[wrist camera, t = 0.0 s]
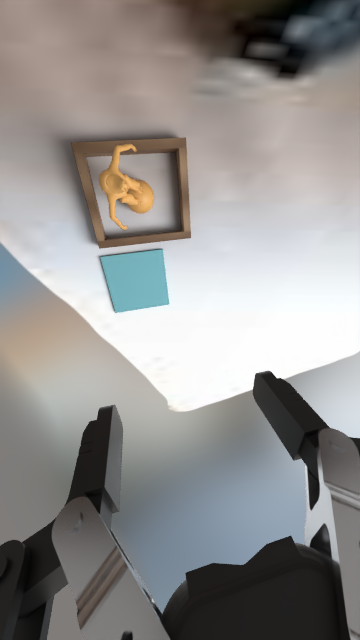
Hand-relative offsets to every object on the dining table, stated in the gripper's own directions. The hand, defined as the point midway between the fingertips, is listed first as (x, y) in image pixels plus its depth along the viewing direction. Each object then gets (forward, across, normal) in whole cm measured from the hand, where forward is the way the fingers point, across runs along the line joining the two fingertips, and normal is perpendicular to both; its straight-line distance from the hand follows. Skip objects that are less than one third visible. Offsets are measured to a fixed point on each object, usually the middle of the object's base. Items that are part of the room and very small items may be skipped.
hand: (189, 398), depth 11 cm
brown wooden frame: (+27, 0, -11) cm, 29 cm away
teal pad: (+27, +3, +2) cm, 27 cm away
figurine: (+27, +1, -11) cm, 30 cm away
